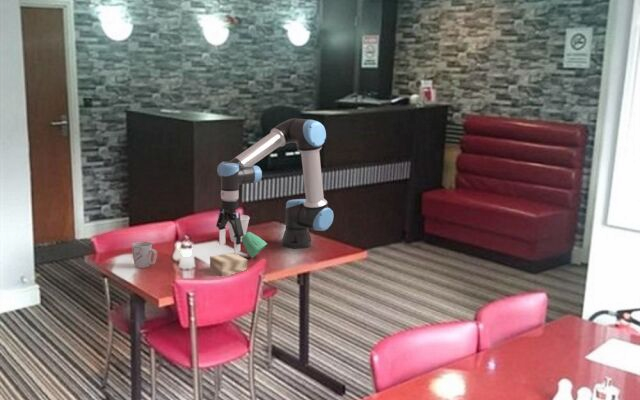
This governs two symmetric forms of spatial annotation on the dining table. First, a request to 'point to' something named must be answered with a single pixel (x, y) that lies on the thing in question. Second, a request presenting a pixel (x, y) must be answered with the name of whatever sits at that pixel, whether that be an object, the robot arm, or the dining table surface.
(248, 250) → the mug
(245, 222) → the cup
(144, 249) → the mug
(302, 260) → the dining table surface
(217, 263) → the beech block
